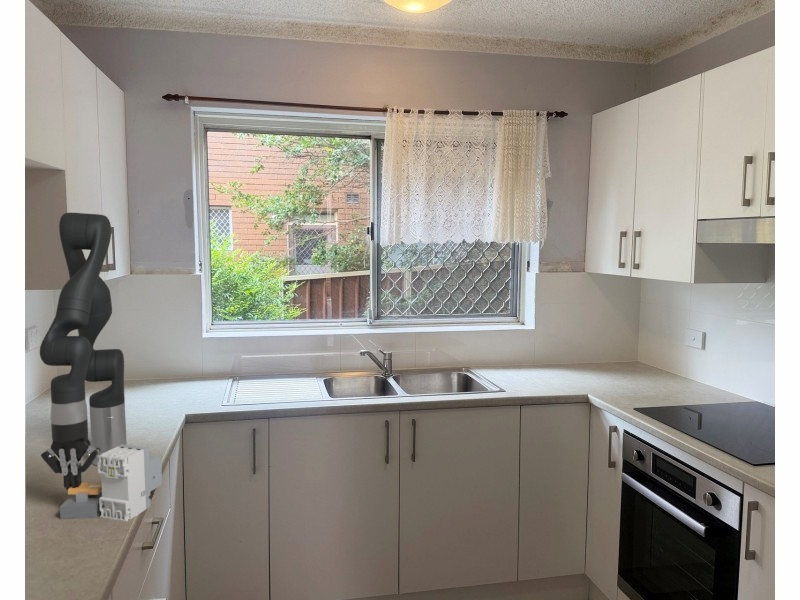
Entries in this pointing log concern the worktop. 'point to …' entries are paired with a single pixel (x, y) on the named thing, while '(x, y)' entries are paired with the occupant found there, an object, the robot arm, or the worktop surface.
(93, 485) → the block
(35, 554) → the worktop surface
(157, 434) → the worktop surface
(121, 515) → the electrical contactor
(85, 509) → the switch box
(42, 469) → the worktop surface
